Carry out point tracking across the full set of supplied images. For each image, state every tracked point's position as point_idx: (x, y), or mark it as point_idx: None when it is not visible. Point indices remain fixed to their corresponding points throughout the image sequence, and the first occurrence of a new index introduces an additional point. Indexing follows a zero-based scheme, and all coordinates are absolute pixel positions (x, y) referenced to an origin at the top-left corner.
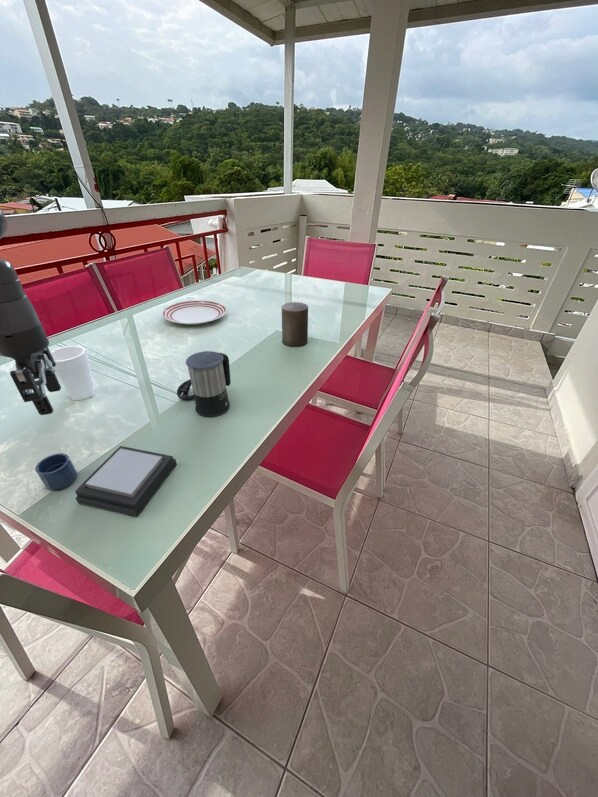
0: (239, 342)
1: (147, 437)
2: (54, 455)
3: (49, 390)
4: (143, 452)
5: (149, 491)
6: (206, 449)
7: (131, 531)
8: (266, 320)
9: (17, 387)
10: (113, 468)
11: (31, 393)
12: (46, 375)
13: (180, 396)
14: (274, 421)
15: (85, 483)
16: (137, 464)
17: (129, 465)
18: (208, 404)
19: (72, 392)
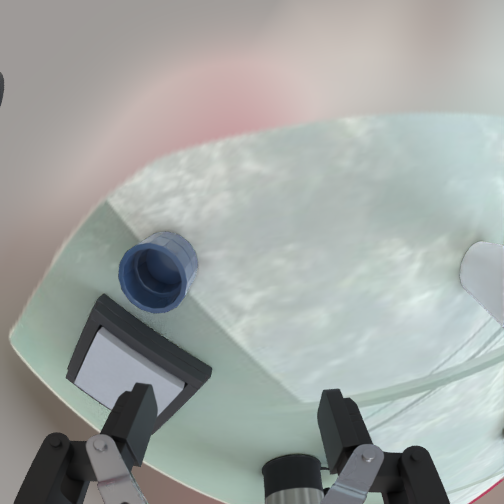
0: (439, 469)
1: (250, 399)
2: (181, 280)
3: (324, 395)
4: (170, 409)
5: None
6: (184, 450)
7: (56, 352)
8: (459, 478)
9: (22, 486)
10: (127, 373)
11: (86, 469)
12: (342, 460)
13: None
14: (219, 498)
15: (108, 325)
16: None
17: None
18: (266, 485)
19: (477, 262)
